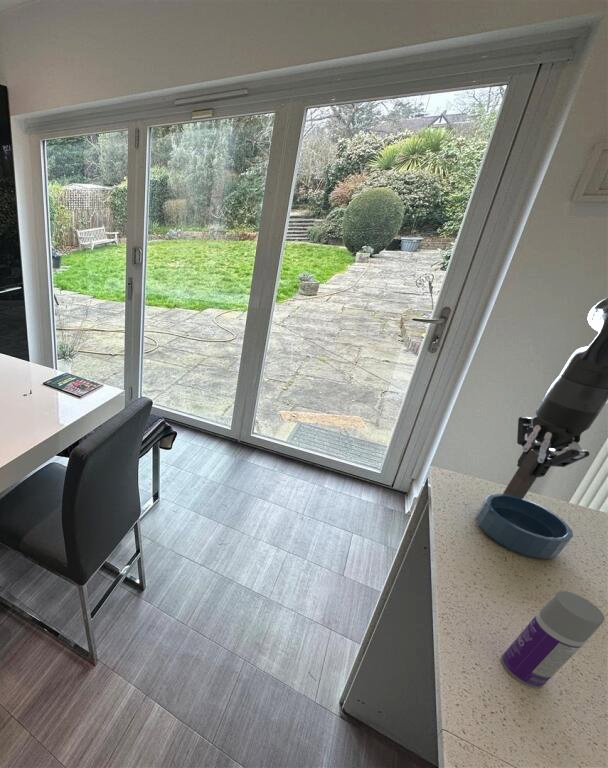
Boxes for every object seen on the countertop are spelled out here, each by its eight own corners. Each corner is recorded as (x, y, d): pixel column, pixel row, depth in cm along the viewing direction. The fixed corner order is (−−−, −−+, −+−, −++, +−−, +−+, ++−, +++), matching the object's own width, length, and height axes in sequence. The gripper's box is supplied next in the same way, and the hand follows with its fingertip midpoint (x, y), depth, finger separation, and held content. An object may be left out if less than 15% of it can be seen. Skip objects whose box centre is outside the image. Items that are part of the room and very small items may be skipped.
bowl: (521, 515, 88) (534, 496, 86) (575, 564, 77) (592, 544, 75) (459, 510, 89) (471, 490, 87) (505, 557, 78) (519, 537, 76)
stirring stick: (511, 497, 91) (541, 449, 85) (519, 504, 89) (551, 456, 83) (500, 496, 91) (530, 449, 85) (508, 503, 89) (539, 455, 83)
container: (492, 651, 63) (544, 587, 56) (526, 656, 62) (583, 592, 55) (516, 685, 58) (575, 621, 51) (552, 691, 58) (617, 626, 51)
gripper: (633, 421, 72) (578, 495, 80) (561, 385, 84) (520, 453, 92) (587, 418, 73) (537, 492, 81) (522, 383, 85) (485, 450, 93)
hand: (528, 471), depth 86 cm, fingers closed on stirring stick, 2 cm apart
